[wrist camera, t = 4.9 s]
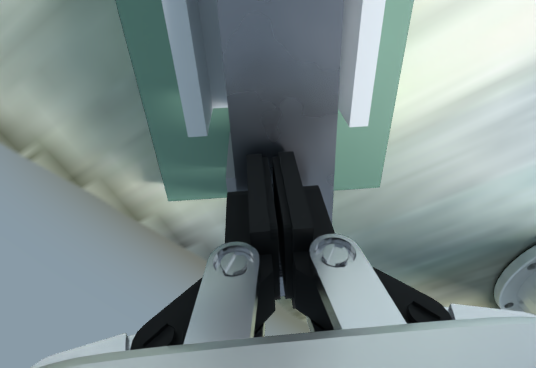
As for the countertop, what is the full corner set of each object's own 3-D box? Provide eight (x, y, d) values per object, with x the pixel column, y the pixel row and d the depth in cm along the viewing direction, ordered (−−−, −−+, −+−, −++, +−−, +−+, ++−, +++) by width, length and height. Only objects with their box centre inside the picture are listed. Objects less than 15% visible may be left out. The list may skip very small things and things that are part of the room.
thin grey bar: (331, 243, 16) (347, 291, 13) (236, 250, 16) (234, 299, 13) (379, -583, 6) (469, -981, 4) (139, -580, 6) (63, -986, 4)
